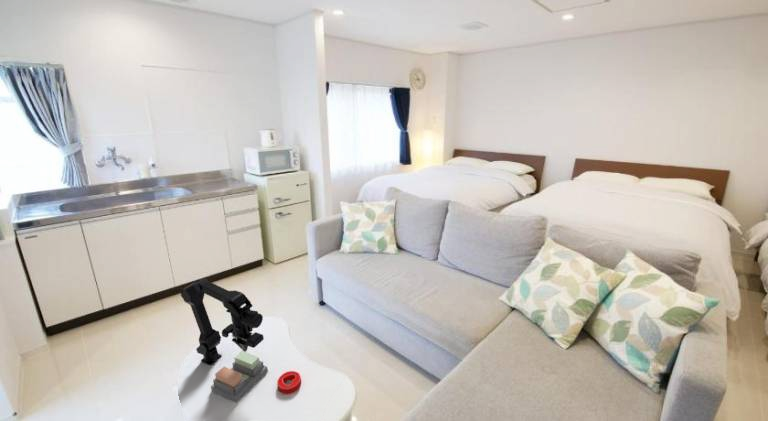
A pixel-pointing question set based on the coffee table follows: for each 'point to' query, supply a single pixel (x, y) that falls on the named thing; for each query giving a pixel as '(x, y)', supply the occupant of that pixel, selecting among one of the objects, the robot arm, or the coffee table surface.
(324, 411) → the coffee table surface
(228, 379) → the orange brown block
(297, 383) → the decorative ornament
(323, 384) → the coffee table surface
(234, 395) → the button panel
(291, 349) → the coffee table surface
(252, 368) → the sage button
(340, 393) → the coffee table surface
